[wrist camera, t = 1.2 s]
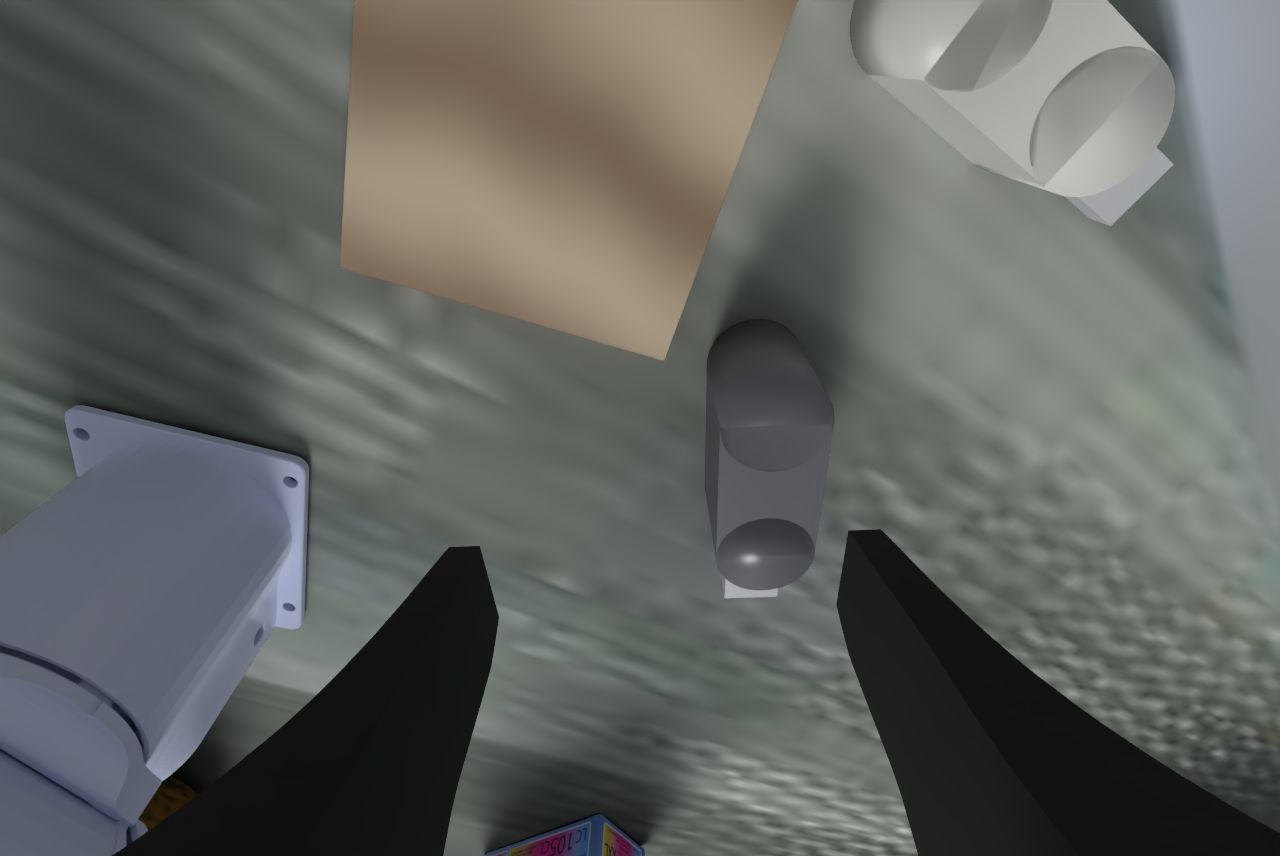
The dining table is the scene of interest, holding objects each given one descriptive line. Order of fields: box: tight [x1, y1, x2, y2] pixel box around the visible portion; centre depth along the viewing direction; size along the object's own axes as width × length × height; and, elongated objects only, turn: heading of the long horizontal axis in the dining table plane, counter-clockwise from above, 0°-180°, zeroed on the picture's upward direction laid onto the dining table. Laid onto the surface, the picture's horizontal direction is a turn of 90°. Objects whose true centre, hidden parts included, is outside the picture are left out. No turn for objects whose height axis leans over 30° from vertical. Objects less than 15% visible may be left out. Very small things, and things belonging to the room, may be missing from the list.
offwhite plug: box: [850, 0, 1175, 226], centre depth 15 cm, size 9×3×4 cm, turn 57°
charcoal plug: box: [705, 319, 834, 598], centre depth 21 cm, size 10×3×4 cm, turn 2°
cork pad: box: [340, 0, 798, 361], centre depth 16 cm, size 10×10×1 cm
